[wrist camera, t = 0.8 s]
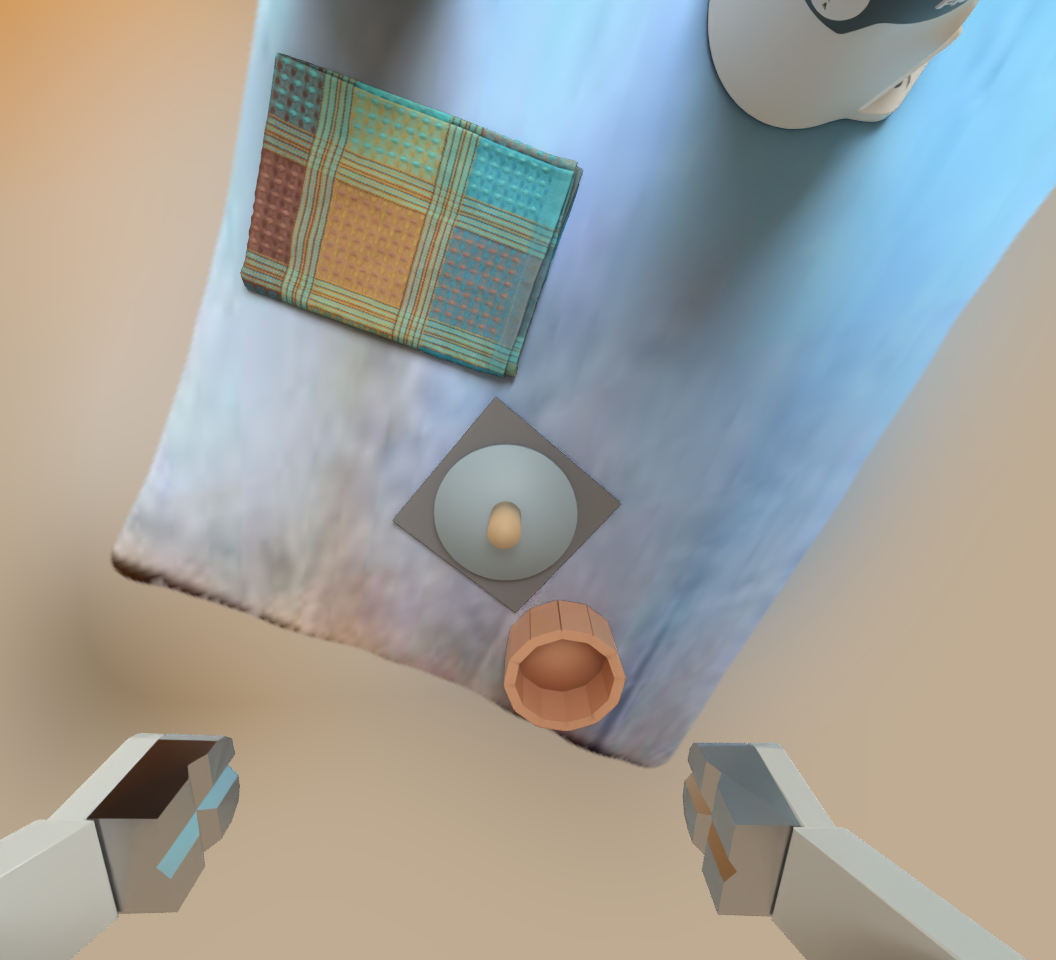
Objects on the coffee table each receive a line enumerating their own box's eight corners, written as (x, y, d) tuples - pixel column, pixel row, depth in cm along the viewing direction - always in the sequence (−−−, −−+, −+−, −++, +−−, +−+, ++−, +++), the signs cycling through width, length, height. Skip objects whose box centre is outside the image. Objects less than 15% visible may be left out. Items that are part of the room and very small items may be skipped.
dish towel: (515, 382, 43) (515, 385, 41) (248, 291, 41) (231, 289, 38) (584, 172, 38) (588, 161, 36) (286, 55, 36) (269, 35, 34)
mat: (495, 396, 43) (495, 397, 42) (619, 501, 46) (620, 503, 45) (394, 518, 46) (392, 520, 45) (515, 609, 49) (515, 612, 48)
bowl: (556, 581, 48) (560, 608, 43) (636, 643, 50) (648, 676, 45) (485, 653, 50) (481, 687, 45) (564, 710, 52) (568, 748, 48)
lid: (497, 413, 43) (493, 423, 38) (605, 505, 45) (615, 525, 40) (407, 519, 45) (393, 541, 41) (514, 599, 48) (513, 629, 43)
